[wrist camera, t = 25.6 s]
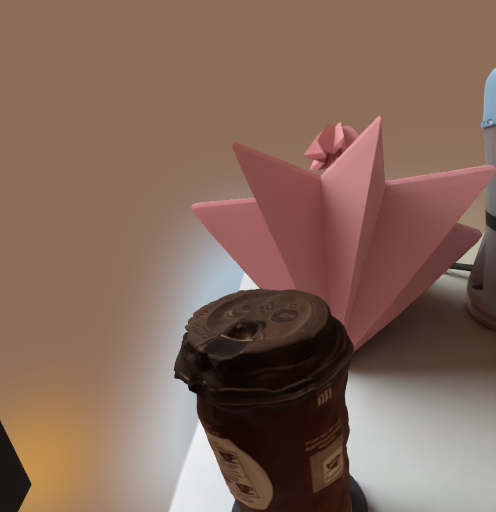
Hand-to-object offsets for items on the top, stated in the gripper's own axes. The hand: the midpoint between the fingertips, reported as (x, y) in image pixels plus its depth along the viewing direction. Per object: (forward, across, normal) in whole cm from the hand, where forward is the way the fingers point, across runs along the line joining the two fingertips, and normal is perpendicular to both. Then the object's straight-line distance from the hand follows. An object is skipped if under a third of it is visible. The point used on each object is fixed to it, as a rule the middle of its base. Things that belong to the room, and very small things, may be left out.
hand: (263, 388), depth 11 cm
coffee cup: (+10, 0, -16) cm, 19 cm away
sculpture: (+41, -2, -12) cm, 43 cm away
